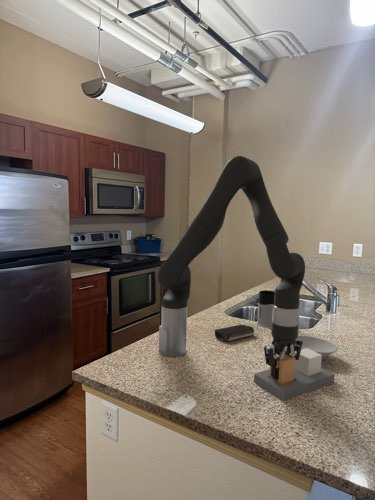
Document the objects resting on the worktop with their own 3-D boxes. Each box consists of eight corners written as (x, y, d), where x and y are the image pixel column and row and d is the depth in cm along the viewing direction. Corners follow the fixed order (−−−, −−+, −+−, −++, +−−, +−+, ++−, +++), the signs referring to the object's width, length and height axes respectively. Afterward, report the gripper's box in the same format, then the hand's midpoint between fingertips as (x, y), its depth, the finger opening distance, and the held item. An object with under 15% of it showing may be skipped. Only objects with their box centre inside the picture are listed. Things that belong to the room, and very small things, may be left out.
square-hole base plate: (283, 400, 94) (285, 373, 93) (253, 381, 104) (255, 356, 103) (334, 381, 105) (336, 357, 104) (302, 366, 115) (304, 343, 115)
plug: (281, 388, 98) (283, 361, 97) (269, 380, 103) (270, 355, 102) (293, 384, 101) (295, 358, 100) (281, 376, 105) (282, 352, 104)
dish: (279, 354, 124) (279, 341, 124) (296, 344, 135) (297, 331, 134) (327, 371, 112) (328, 356, 112) (343, 358, 123) (344, 344, 122)
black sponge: (225, 344, 134) (226, 335, 133) (212, 337, 141) (212, 328, 140) (255, 336, 143) (256, 328, 142) (242, 330, 150) (242, 322, 149)
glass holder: (278, 327, 154) (280, 294, 152) (247, 327, 152) (249, 294, 151) (272, 321, 162) (273, 290, 160) (242, 321, 161) (244, 290, 159)
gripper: (277, 329, 93) (273, 388, 95) (312, 321, 100) (308, 376, 102) (258, 321, 99) (255, 376, 101) (292, 314, 106) (289, 366, 108)
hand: (281, 376), depth 102 cm, fingers closed on plug, 5 cm apart
